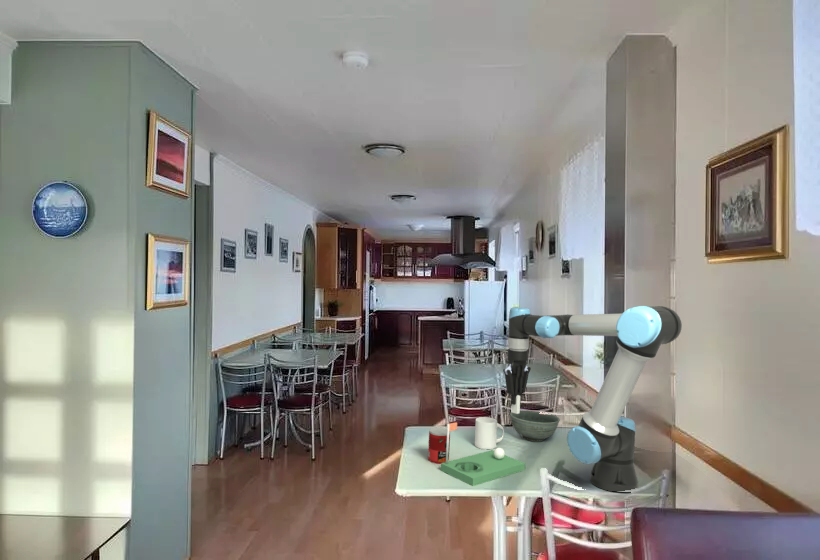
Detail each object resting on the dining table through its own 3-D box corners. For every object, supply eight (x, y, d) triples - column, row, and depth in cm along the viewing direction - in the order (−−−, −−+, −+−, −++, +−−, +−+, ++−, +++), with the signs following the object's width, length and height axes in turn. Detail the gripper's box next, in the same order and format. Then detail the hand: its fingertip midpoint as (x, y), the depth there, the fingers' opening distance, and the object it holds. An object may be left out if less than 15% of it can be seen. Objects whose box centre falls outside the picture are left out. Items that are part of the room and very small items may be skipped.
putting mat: (524, 470, 190) (526, 424, 189) (472, 486, 174) (474, 435, 173) (492, 456, 202) (493, 413, 202) (440, 470, 186) (442, 423, 186)
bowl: (500, 439, 224) (501, 415, 224) (520, 428, 241) (521, 406, 241) (548, 450, 212) (549, 425, 212) (565, 437, 229) (566, 414, 229)
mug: (507, 449, 211) (508, 422, 211) (478, 450, 209) (479, 423, 209) (499, 442, 220) (500, 416, 219) (471, 443, 217) (472, 417, 217)
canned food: (440, 465, 191) (441, 435, 191) (423, 459, 196) (424, 430, 196) (453, 460, 196) (454, 431, 196) (436, 455, 202) (437, 426, 202)
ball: (506, 459, 193) (507, 448, 192) (499, 461, 190) (499, 450, 190) (498, 456, 196) (499, 445, 196) (491, 458, 193) (491, 447, 193)
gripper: (521, 347, 204) (519, 408, 205) (498, 349, 196) (495, 412, 197) (537, 349, 198) (534, 412, 199) (514, 352, 190) (511, 417, 191)
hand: (515, 412), depth 198 cm, fingers closed
